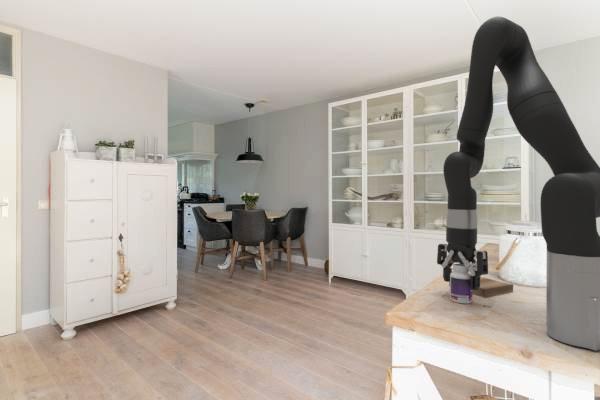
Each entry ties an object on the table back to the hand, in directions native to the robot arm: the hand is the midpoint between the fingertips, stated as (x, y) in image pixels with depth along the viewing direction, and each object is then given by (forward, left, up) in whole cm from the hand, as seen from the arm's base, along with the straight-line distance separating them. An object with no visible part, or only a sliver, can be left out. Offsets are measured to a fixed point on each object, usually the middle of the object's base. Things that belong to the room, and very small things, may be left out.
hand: (460, 285), depth 86 cm
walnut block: (+5, -14, -5) cm, 15 cm away
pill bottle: (0, 0, -4) cm, 4 cm away
